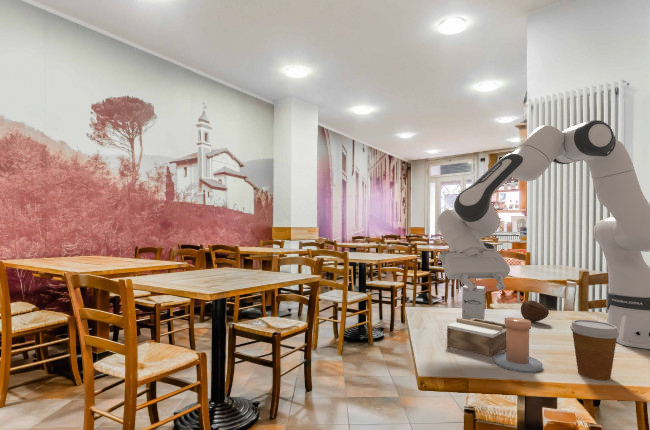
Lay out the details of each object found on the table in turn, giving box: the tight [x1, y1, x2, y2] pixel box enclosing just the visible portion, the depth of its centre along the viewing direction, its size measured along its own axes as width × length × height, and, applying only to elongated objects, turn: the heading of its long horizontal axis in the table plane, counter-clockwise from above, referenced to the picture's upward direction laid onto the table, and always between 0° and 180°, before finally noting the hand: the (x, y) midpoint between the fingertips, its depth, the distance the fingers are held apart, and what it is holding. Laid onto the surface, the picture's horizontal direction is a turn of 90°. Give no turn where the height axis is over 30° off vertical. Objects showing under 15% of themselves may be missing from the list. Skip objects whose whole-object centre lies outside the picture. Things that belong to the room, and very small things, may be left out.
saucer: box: [493, 352, 543, 374], centre depth 96 cm, size 11×11×1 cm
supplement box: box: [461, 284, 486, 320], centre depth 141 cm, size 7×7×13 cm
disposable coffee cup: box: [569, 319, 619, 381], centre depth 90 cm, size 10×10×12 cm
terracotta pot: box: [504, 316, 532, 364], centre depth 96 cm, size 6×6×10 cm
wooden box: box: [446, 318, 506, 358], centre depth 112 cm, size 13×18×5 cm
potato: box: [520, 299, 550, 323], centre depth 140 cm, size 7×10×8 cm
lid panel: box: [446, 317, 502, 338], centre depth 108 cm, size 13×7×2 cm, turn 45°
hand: (488, 289), depth 108 cm, fingers open, 8 cm apart
